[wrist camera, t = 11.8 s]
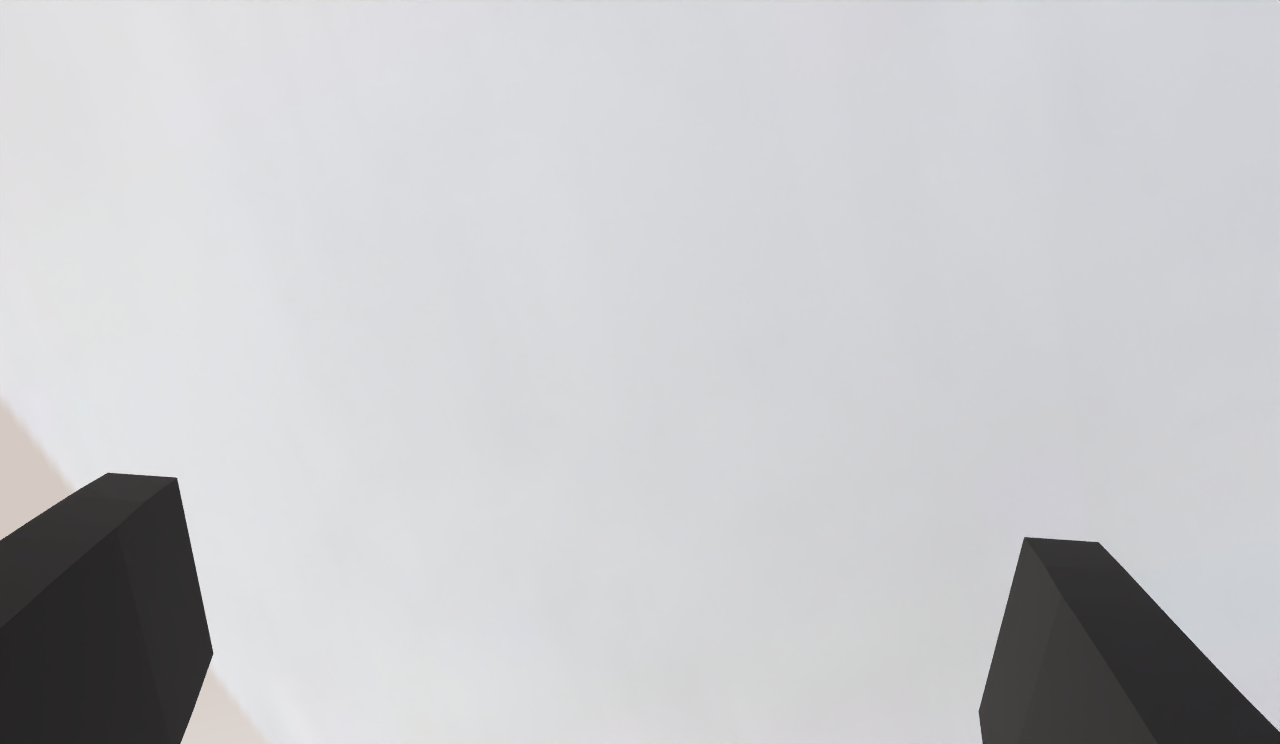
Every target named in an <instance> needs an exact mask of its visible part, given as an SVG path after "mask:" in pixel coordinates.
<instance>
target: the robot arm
mask: <svg viewBox="0 0 1280 744" xmlns="http://www.w3.org/2000/svg"><path fill="white" fill-rule="evenodd" d="M212 656H213V649H212V645H211V640H210V635H209V630H208V625H207V620H206V616H205V611H204V606H203V601H202V596H201V592H200V587H199V582H198V577H197V572H196V567H195V563H194V558H193V553H192V548H191V543H190V538H189V534H188V529H187V524H186V519H185V514H184V509H183V505H182V500H181V495H180V490H179V485H178V481H177V478H174V477H159V476H145V475H131V474H117V473H107V474H105V475H103V476H102V477H100V478H98V479H96V480H95V481H93V482H91V483H89V484H88V485H86V486H84V487H83V488H81V489H79V490H78V491H76V492H75V493H73V494H71V495H70V496H68V497H67V498H65V499H63V500H62V501H60V502H59V503H57V504H56V505H54V506H52V507H51V508H50V509H48V510H46V511H45V512H43V513H42V514H40V515H39V516H37V517H35V518H34V519H32V520H31V521H29V522H28V523H26V524H25V525H23V526H22V527H20V528H19V529H17V530H16V531H14V532H13V533H11V534H10V535H8V536H6V537H5V538H3V539H2V540H0V744H180V743H181V741H182V738H183V735H184V733H185V730H186V728H187V725H188V723H189V720H190V717H191V715H192V712H193V710H194V707H195V704H196V701H197V698H198V695H199V692H200V690H201V687H202V684H203V681H204V678H205V676H206V673H207V670H208V667H209V664H210V661H211V659H212ZM979 718H980V725H981V733H982V741H983V744H1280V732H1279V731H1278V730H1277V729H1276V728H1275V727H1274V726H1273V725H1272V724H1271V723H1270V722H1269V721H1268V720H1267V719H1266V718H1265V717H1264V716H1263V715H1262V714H1261V713H1260V712H1259V711H1258V710H1257V709H1256V708H1255V707H1254V706H1253V705H1252V704H1251V703H1250V702H1249V701H1248V700H1247V699H1246V698H1245V697H1244V696H1243V695H1242V694H1241V693H1240V692H1239V690H1238V689H1237V688H1236V687H1235V686H1234V685H1233V684H1232V683H1231V682H1230V681H1229V680H1228V679H1227V678H1226V677H1225V676H1224V675H1223V674H1222V673H1221V672H1220V671H1219V670H1218V669H1217V668H1216V667H1215V665H1214V664H1213V663H1212V662H1211V661H1210V660H1209V659H1208V658H1207V657H1206V656H1205V655H1204V654H1203V653H1202V652H1201V651H1200V650H1199V649H1198V647H1197V646H1196V645H1195V644H1194V643H1193V642H1192V641H1191V640H1190V639H1189V638H1188V637H1187V636H1186V635H1185V634H1184V633H1183V631H1182V630H1181V629H1180V628H1179V627H1178V626H1177V625H1176V624H1175V623H1174V622H1173V621H1172V620H1171V619H1170V618H1169V617H1168V615H1167V614H1166V613H1165V612H1164V611H1163V610H1162V609H1161V608H1160V607H1159V606H1158V605H1157V604H1156V602H1155V601H1154V600H1153V599H1152V598H1151V597H1150V596H1149V595H1148V594H1147V593H1146V592H1145V591H1144V590H1143V588H1142V587H1141V586H1140V585H1139V584H1138V583H1137V582H1136V581H1135V580H1134V579H1133V578H1132V577H1131V576H1130V575H1129V573H1128V572H1127V571H1126V570H1125V569H1124V568H1123V567H1122V566H1121V565H1120V564H1119V563H1118V562H1117V561H1116V560H1115V559H1114V558H1113V557H1112V556H1111V555H1110V554H1109V553H1108V552H1107V550H1106V549H1105V548H1104V547H1103V546H1102V545H1101V544H1100V543H1099V542H1086V541H1072V540H1057V539H1043V538H1029V537H1024V540H1023V544H1022V548H1021V552H1020V556H1019V559H1018V563H1017V567H1016V571H1015V575H1014V578H1013V582H1012V586H1011V590H1010V594H1009V598H1008V601H1007V605H1006V609H1005V613H1004V617H1003V621H1002V624H1001V628H1000V632H999V636H998V640H997V644H996V647H995V651H994V655H993V659H992V663H991V667H990V670H989V674H988V678H987V682H986V686H985V690H984V693H983V697H982V701H981V705H980V709H979Z"/></svg>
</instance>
